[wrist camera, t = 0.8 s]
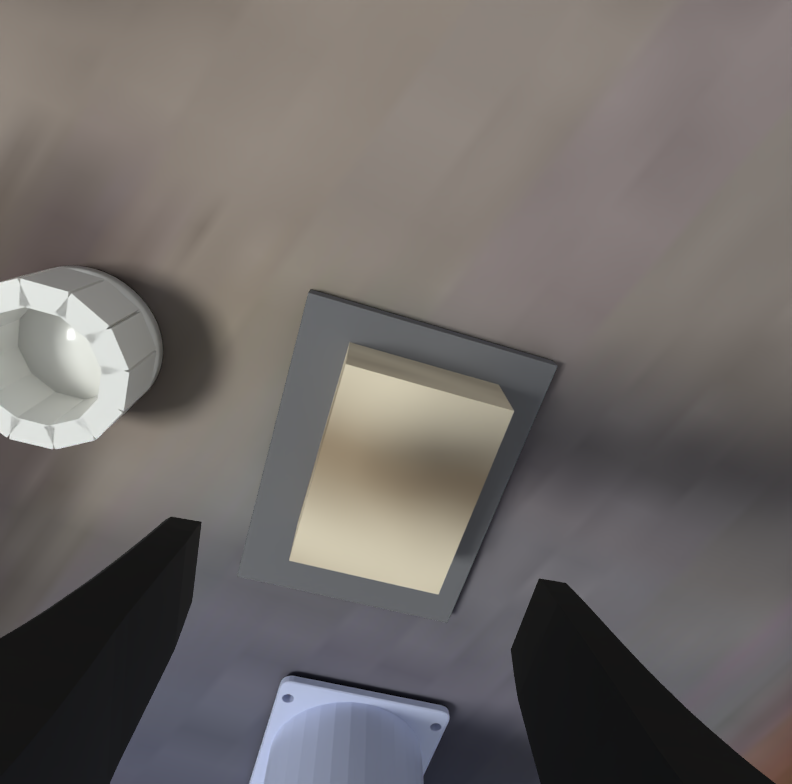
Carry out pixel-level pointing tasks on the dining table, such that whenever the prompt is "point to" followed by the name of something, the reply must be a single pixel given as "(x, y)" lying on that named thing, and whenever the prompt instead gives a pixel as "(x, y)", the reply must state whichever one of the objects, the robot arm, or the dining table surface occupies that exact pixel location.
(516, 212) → the dining table surface
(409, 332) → the mat
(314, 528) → the block
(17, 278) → the bowl
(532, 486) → the dining table surface
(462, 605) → the dining table surface
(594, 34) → the dining table surface
